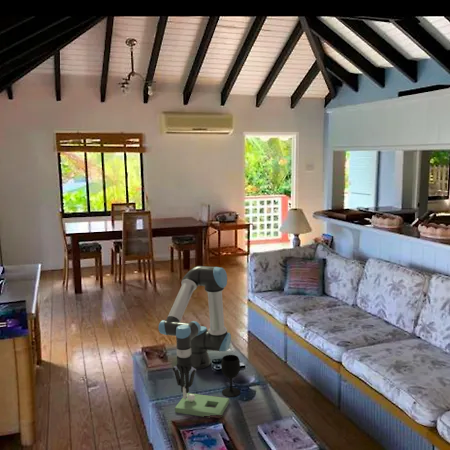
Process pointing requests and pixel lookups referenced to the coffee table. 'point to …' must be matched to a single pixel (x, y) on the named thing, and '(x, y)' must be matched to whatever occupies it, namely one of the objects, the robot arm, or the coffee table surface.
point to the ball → (191, 397)
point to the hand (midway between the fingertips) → (185, 398)
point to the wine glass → (230, 373)
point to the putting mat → (202, 405)
